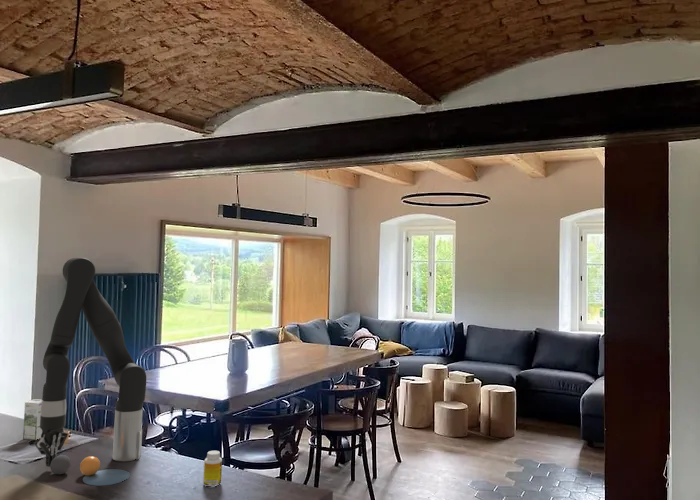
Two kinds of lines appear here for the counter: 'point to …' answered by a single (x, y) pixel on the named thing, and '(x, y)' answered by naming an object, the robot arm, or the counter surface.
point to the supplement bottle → (212, 469)
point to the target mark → (106, 477)
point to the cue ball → (60, 464)
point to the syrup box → (32, 419)
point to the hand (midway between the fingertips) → (50, 465)
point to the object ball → (90, 465)
